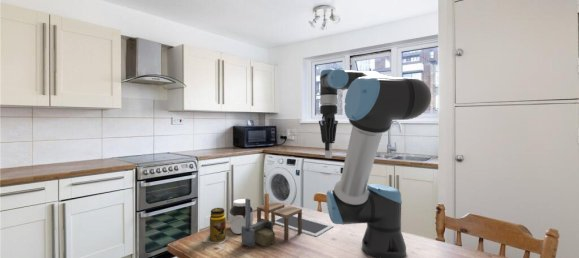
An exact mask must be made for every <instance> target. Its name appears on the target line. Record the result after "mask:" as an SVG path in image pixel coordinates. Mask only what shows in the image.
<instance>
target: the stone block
mask: <svg viewBox="0 0 579 258" xmlns="http://www.w3.org/2000/svg"><path fill="white" fill-rule="evenodd" d="M275 242H276V235H275V231H274V229H273V230H270V229H267V228H265V227H260V228H258V229H255V244H258V245H259V246H263V247H268V246H269V245H270V246H271V245H273V244H274V243H275Z"/></svg>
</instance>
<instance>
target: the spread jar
mask: <svg viewBox="0 0 579 258" xmlns="http://www.w3.org/2000/svg"><path fill="white" fill-rule="evenodd" d="M245 199H246V198H240V199H239V198H238V199H235V200H233V205H232V206H231V208H230V209H229V213H228V215H229V218H228V219H229V220H228V221H229V224H230V230H231V231H232V232H233V233H234V234H237V235H238V234H242V226H246V223H245ZM253 223H254V209H253V207H252V206H251V205H250V226H251V225H253Z"/></svg>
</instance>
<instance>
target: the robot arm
mask: <svg viewBox="0 0 579 258" xmlns="http://www.w3.org/2000/svg"><path fill="white" fill-rule="evenodd" d="M319 75H320V76H319V86H320V87H319V88H320V92H319V95H320V99H319V100H320V101H319V102H320V103H319V104H320V106H319V112H320V114H321V115H322V116H321V120H318V124H319V127H320V135H321V142H322V143H323V144H324V158H326V159H333V144H335V142H336V136H337V135H336V134H337V128H338V124H339V120H336V117H335V116H336V114H337V113H338V105H337V104H338V90H347V91H346V94H345V97H344V103H345V104H344V114H345V116H346V118H347V119H348V121H349V124H350V125H351V126H352V127H351V131H350V138H349V142H348V145H347V150H346V155H345V159H344V163H343V168H342V172H341V176H340V180H338V181H337V182H336V183H335V185H334V188H333V189H330V190H328V191H327V192H326V199H325V200H326V207H327V212H328V215H329V219H330V221H331V222H332V223H333V224H335V225H342V226H343V225H354V224H355V225H356V224H366V229H365V231H364V235H363V237H362V241H361V247H362V248H361V249H362V250H363V251H364V253H366V254H368V255H369V256H372V257H374V258H405V257H406V255H407V246H406V242H405V238H404V236H403V233H402V204H403V203H402V194H401V192H400V190H399V189H397V188H396V187H393V186H389V185H385V184H379V183H370V184H369V183H368V182H369V179H370V176H371V172H372V168H373V165H374V162H375V158H376V156H377V153H378V149H379V145H380V142H381V139H382V136H383V135H382V134H384V133H387V132H389V130H390V128H391V126H392V123H393V121H402V120H403V121H405V120H412V119H414V118H415V119H416V118H418V117H419V116H421V115H423V114H424V113H425V112H426V110H428V108H429V106H430V105H431V101H432V93H431V89H430V88H429V86H428V84H427V83H425V82H424V81H422V80H421V79H420V78H419V79H418V78H416V77H415V78H414V77H407V76H406V77H405V76H404V77H397V76H396V77H395V76H387V75H384V74H380V72H378V71H373V70H368V71H366V70H364V71H358V70H345V69H343V68H335V69H333V68H327V69H322V70H321V71H320V74H319Z"/></svg>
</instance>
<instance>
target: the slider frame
mask: <svg viewBox="0 0 579 258" xmlns="http://www.w3.org/2000/svg"><path fill="white" fill-rule="evenodd" d="M263 195H264V196H263V197H264V198H263V199H264V201H263V202H264V203H263V205H264V212H263V213H264V216H263V217H264V218H261V222H258V223H257V222H256V223H254V224H252V225H251V226H250V206H251V199H250V198H244V199H245V223H246V226H242V233H241V244H242V245H243V244H244V245H246V246H249V247H251V248H254V247H256V245H255V244H256V243H255V229H258V228H260V227H265V228H267V229H270V230H273V231H274V225H273V222H272V221H271V220H270V213H269V203H270V193H267V192H265V193H264V194H263Z"/></svg>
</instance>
